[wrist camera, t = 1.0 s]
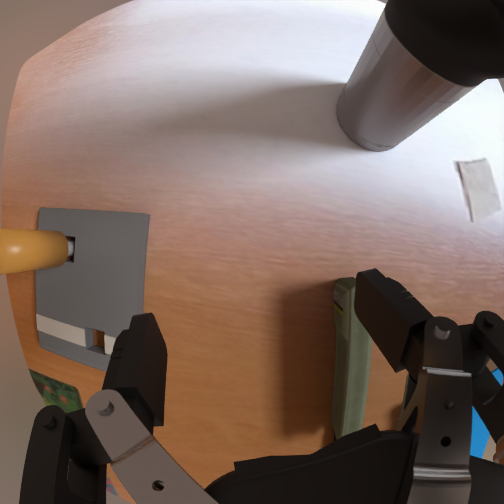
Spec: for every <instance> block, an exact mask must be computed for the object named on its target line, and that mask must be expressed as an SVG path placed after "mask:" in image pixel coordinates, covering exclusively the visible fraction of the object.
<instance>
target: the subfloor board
mask: <svg viewBox="0 0 504 504" xmlns="http://www.w3.org/2000/svg"><path fill="white" fill-rule="evenodd" d="M149 220H150V215H148V214H144V213H130V212H116V211H100V210H82V209H63V208H40V210H39V219H38V230H55V231H60V232H62V233H63V234H64V235H65V237H66V239H67V236H72V237H75V251H74V260H68V259H67V260H66V262H65V263H64V264H63V265H62V266H61V267H56V268H48V269H40V270H36V275H35V280H36V311H37V314H36V320H37V330H38V335H39V344H40V347H41V348H43V349H45V350H48V351H50V352H53V353H55V354H58V355H60V356H63V357H65V358H68V359H71V360H73V361H76V362H79V363H82V364H84V365H87V366H90V367H93V368H96V369H99V370H102V371H107V368H108V364H109V360H111V359H110V357H111V353H112V352H113V346H114V343H115V339H116V338H117V337H118V336H119V334H120V333H121V332H122V330H126V329H129V326H130V322H131V319H132V316H133V315H139V314H143V298H144V278H145V263H146V250H147V239H148V229H149ZM93 329H96V330H100V331H103V332H105V335H104V341H105V348H103V347H100V346H96V345H94V342H93Z"/></svg>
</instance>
